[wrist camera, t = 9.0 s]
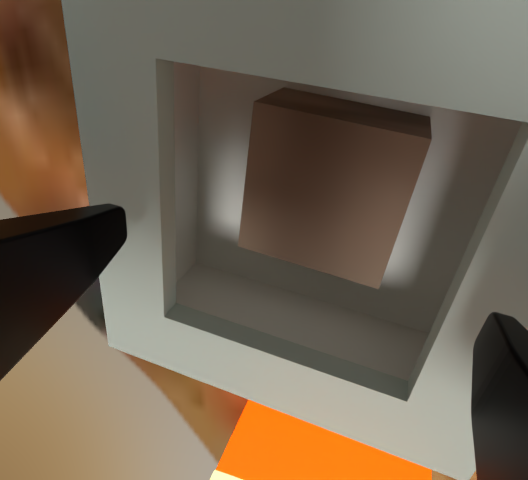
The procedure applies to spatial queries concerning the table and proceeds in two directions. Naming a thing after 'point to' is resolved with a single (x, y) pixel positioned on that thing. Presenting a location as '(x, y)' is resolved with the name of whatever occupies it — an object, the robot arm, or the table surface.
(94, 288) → the table surface
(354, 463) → the orange juice
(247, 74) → the slot box
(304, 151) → the brown square block
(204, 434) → the table surface
